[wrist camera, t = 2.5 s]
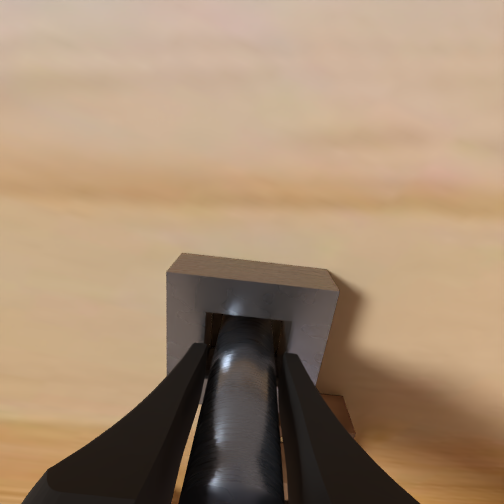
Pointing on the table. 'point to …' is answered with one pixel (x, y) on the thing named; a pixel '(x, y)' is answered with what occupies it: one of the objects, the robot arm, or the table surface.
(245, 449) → the shiny steel cylinder
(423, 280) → the table surface
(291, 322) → the socket block
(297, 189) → the table surface
